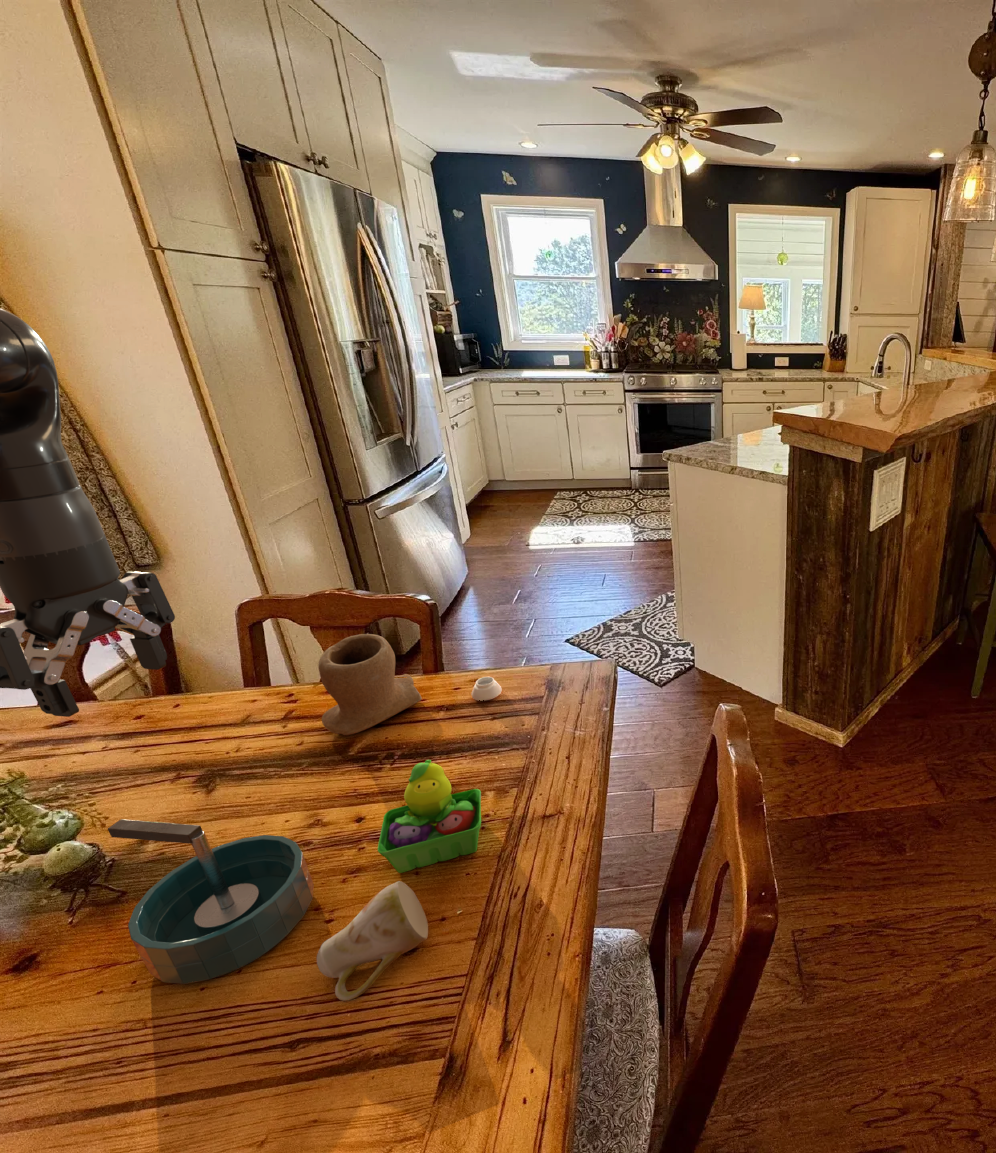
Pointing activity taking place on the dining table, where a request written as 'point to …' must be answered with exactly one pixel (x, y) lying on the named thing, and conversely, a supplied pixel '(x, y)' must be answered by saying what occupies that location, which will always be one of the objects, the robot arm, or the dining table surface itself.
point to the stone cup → (363, 684)
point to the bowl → (188, 957)
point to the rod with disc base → (226, 900)
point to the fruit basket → (430, 821)
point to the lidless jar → (486, 689)
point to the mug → (374, 937)
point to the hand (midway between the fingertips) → (113, 689)
